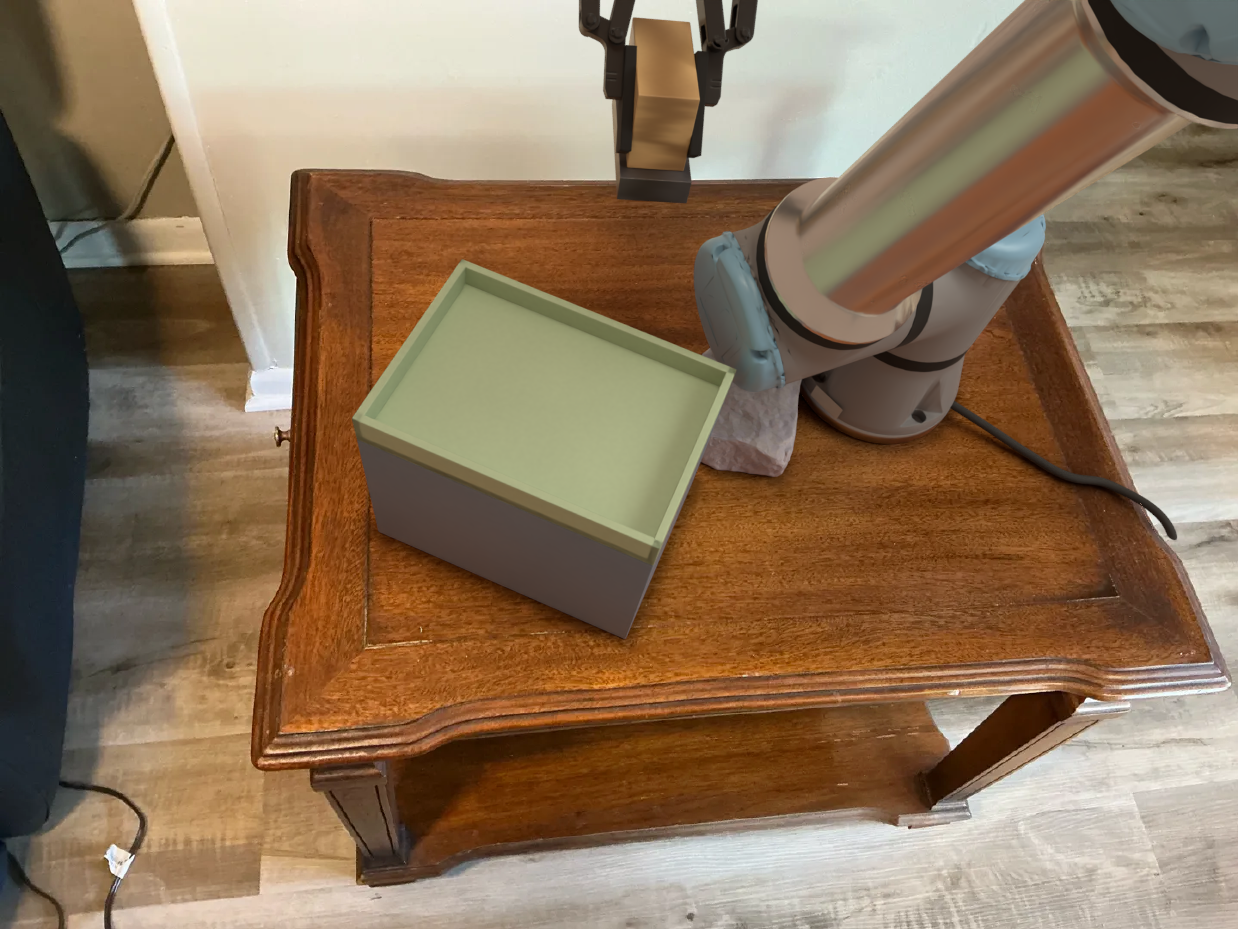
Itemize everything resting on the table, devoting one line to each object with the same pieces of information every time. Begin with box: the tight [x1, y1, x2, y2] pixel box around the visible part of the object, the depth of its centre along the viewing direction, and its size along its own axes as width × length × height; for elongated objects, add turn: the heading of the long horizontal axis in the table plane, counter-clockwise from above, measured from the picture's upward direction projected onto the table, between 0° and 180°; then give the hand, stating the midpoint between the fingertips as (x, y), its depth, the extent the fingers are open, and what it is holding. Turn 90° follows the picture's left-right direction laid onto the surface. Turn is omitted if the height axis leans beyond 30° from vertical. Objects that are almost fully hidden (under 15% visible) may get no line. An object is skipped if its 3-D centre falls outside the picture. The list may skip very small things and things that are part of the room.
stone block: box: [700, 347, 802, 478], centre depth 82 cm, size 12×5×10 cm
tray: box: [351, 258, 736, 566], centre depth 63 cm, size 21×15×3 cm
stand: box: [356, 395, 727, 640], centre depth 70 cm, size 21×15×14 cm
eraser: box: [611, 16, 700, 204], centre depth 65 cm, size 5×10×8 cm, turn 2°
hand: (657, 153), depth 63 cm, fingers closed on eraser, 4 cm apart
